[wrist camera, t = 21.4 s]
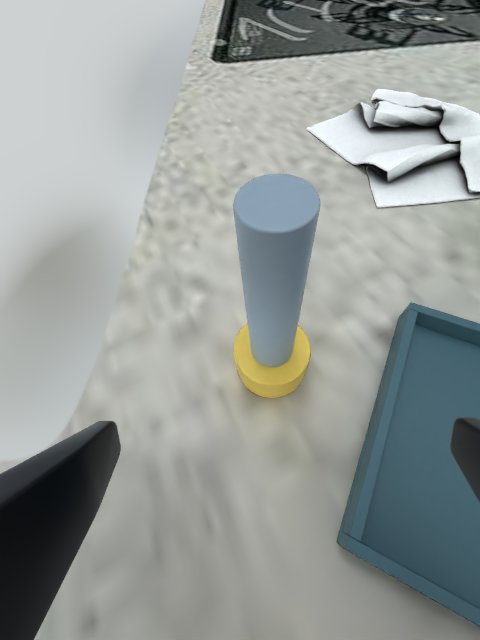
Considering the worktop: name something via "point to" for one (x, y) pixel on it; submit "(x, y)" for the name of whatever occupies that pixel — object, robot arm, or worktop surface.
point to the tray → (421, 464)
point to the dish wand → (274, 280)
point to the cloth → (409, 148)
